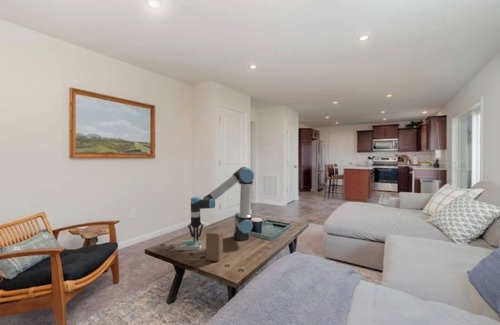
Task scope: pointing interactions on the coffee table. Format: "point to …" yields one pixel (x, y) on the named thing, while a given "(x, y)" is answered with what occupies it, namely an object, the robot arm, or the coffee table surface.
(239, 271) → the coffee table surface
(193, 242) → the teal block
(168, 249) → the mat
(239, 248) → the coffee table surface
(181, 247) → the chute
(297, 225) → the coffee table surface
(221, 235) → the wooden block
